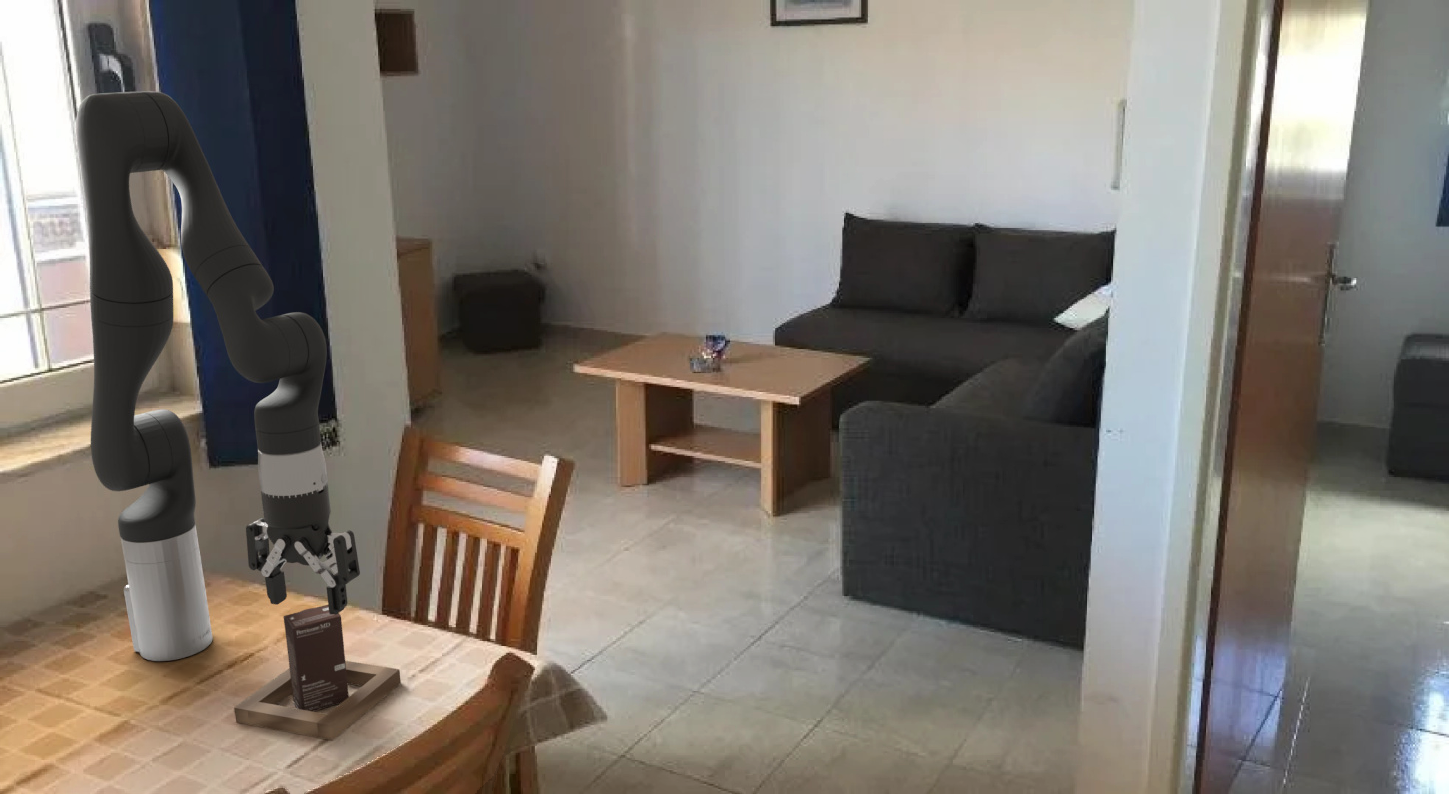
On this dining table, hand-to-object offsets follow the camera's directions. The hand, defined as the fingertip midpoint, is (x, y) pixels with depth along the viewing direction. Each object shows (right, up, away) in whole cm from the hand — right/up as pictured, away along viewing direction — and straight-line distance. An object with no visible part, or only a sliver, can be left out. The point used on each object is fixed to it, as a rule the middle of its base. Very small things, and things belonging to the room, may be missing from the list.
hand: (308, 606), depth 144 cm
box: (+1, -13, +3) cm, 13 cm away
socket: (0, -12, +3) cm, 13 cm away
